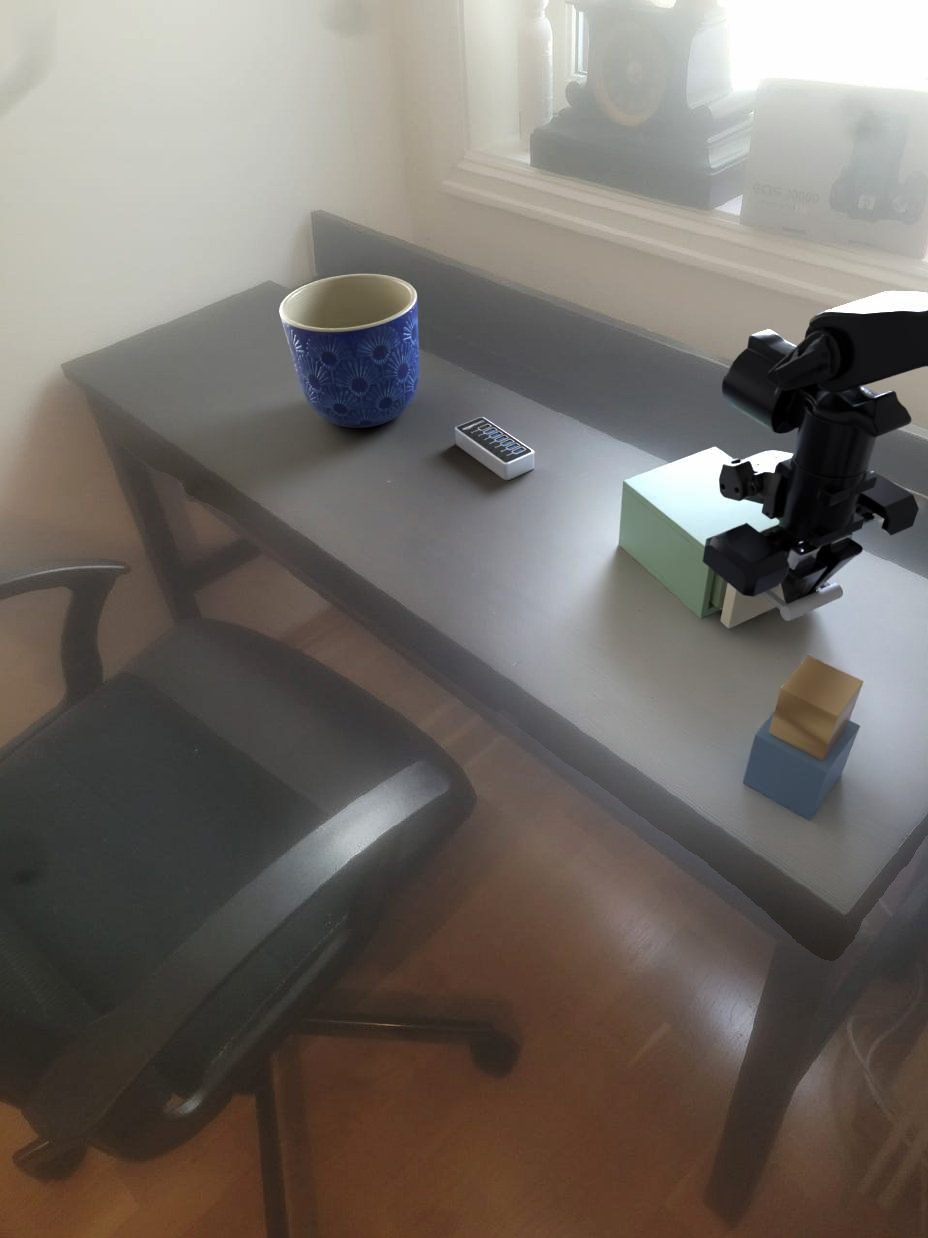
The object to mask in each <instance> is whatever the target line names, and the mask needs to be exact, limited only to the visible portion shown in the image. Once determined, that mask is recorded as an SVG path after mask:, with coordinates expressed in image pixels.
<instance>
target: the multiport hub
mask: <svg viewBox="0 0 928 1238" xmlns="http://www.w3.org/2000/svg"><path fill="white" fill-rule="evenodd" d="M454 435H455V445H456V446H457V447H459V448H460V449H461V450H463V452H466V453H467V454H468V455H470V456H471V457H473V458H474V459H475V460H476V461H478V462H479V463H480V464H482V465H483V466H485V467H486V468H487V469H489V470H490V471H492V472H493V473H495V475H497V476H498V477H500V478H501V479H503V480H504V481H509V480H510V481H511V480H512V479H515V478H516V477H519V476H521V475H524V474H526V473H527V472H530V471H532V470H534V469H535V451H534V450H533V449H532V448H530V446H527V445H526V444H524V443H523V442H521V441H520V440H518V439H517V438H516V437H514V436H512V435H511V434H510V433H509V432H506V431H505V430H504V429H502V428H500V427H499V426H498V425H496V424H495V423H493V422H492V421H490V420H489V419H487V418H485V417H484V416H479V417H476V418H474V419H472V420H469V421H467V422H464V423H462V424H460V425H457V426H455V427H454Z"/></svg>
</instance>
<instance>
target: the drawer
mask: <svg viewBox="0 0 928 1238" xmlns="http://www.w3.org/2000/svg"><path fill="white" fill-rule="evenodd" d="M843 595H844V590H843V587H842V586H841V584H839V583H836V582H834V583H831V584H830V583H829V582H828V581H826V582H825V583H824V584H823V585H822V586H821V587H820V588H819V589H818V590H817V591H815V592H813V593H811V594H809V595H807V596H804V597H802V598H800V599H798V600H796V601H793V602H791V603H789V604H787V603H786V602H785V599H784V595H783V591H782V586H781V583H780V584H779V585H778V586H776V587H774V588H772V589H770V590H767V591H765V592H763V593H761V594H758V595H756V596H754V597H751V596H745V595H742V594H741V593H740V592H739V591H737V590H736V589H735V588H734V587H733V586H731V585H730V584H729V583H728V582H726V581H725V580H724V579H723V578H722V577H720V576H719V575H718V574H717V573H716V572H714V577H713V582H712V588H711V594H710V600H709V601H710V602H711V603H712V604H713V605H715V606H716V607H717V608H719V607H721V606H723V609H721V616H720V622H721V623H722V624H723V625H724V626H725V627H726V628H727V629H731V628H733V627H735V626H737V625H740V624H742V623H744V622H746V621H749V620H750V619H753V618H755V617H758V616H759V615H762V614H764V613H766V612H769V611H771V610H773V609H775V608H777V609H778V610H779V613H780V616H781V617H782V619H783V620H784V621H786V622H791V621H793V620H795V619H797V618H799V617H801V616H803V615H805V614H808V613H810V612H813V611H814V610H816V609H817V610H818V609H819V608H820V607H823V606H825V605H827V604H829V603H833V602H834V601H837V600H838V599H840V598H842V597H843Z"/></svg>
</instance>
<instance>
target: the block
mask: <svg viewBox="0 0 928 1238" xmlns="http://www.w3.org/2000/svg"><path fill="white" fill-rule="evenodd" d="M863 685H864V680H863V679H860V678H858V677H856V676H854V675H851V674H850V673H847V672H845V671H842V670H840V669H838V668H836V667H834V666H832V665H829V664H827V663H826V662H824V661H821V660H820V659H817V658H814V657H812V656H810V655H806V656H805V658H804V659H803V660H802V661H801V663H799V665H798V667H797V668H796V669H794V671H793V672H792V674H791V675H790V676H789V677H788V679H787V680H785V683H783V684H782V686H781V687H780V689H779V693H778V696H777V700H776V704H775V707H774V710H775V711H774V710H773V712H774V715H773V718H772V722H771V726H770V729H769V733H770V734H771V735H773V736H775V737H777V738H779V739H781V740H783V741H785V742H787V743H789V744H791V745H792V746H794V747H796V748H798V749H800V750H802V751H804V752H806V753H808V754H810V755H812V756H813V757H815V758H817V759H819V760H821V761H822V760H823V759H824V758H825V756H826V755H827V754H828V752H829V751H830V749H831V748H832V747H833V745H834V744H835V743H836V741H837V740H838V738H839V737H840V736H841V734H842V733H843V731H844V730H845V729H846V727H847V725H848V723H849V720H850V721H851V718H852V714H853V712H854V709H855V706H856V703H857V701H858V699H859V695H860V693H861V690H862V687H863Z"/></svg>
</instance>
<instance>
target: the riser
mask: <svg viewBox="0 0 928 1238" xmlns="http://www.w3.org/2000/svg"><path fill="white" fill-rule="evenodd" d="M774 711H775V709H774V710H773V711H772V713H771V714H770V715H769V716H768V718H767V719H766V720H765V721H764V723H763V724H762V725H761V726H760V728H759V729H758V730H757V731H756V733H755V734H754V738H753V740H752V745H751V749H750V753H749V758H748V759H747V760H748V761H747V763H746V764H747V765H746V768H745V772H744V776H743V780H742V783H743V784H745V785H746V786H748V787H750V788H752V789H753V790H755V791H757V792H759V793H761V794H762V795H763V796H766V797H768V798H769V799H771V800H773V801H775V802H776V803H778V804H780V805H782V806H783V807H785V808H787V809H789V810H791V811H792V812H794V813H796V814H798V815H799V816H801V817H803V818H804V819H807V820H808V821H810V820H811V819H812V818H813V816H814V815H815V814H816V812H817V811H818V809H819V808H820V807H821V805H822V804H823V802H824V800H825V799H826V798H827V797H828V795H829V794H830V792H831V790H832V789H833V788H834V786H835V785H836V783H837V782H838V780H839V779H840V778H841V776H842V775H843V772H844V769H845V767H846V765H847V761H848V759H849V756H850V754H851V751H852V748H853V747H854V743H855V741H856V738H857V735H858V733H859V730H860V728H861V725H860V724H858V723H856V722H854V721H852V720H851V719H850V720H849V723H848V725H847V727H846V729H845V730H844V731H843V733H842V734H841V736H840V737H839V738H838V740H837V741H836V743H835V744H834V745H833V747H832V748H831V749H830V751H829V752H828V754H827V755H826V756H825V758H824V759H823V760H822V761H821V760H819V759H817V758H815V757H813V756H812V755H810V754H808V753H806V752H804V751H802V750H800V749H798V748H796V747H794V746H792V745H791V744H789V743H787V742H785V741H783V740H781V739H779V738H777V737H775V736H773V735H771V734H770V733H769V729H770V726H771V722H772V718H773V715H774Z"/></svg>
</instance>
